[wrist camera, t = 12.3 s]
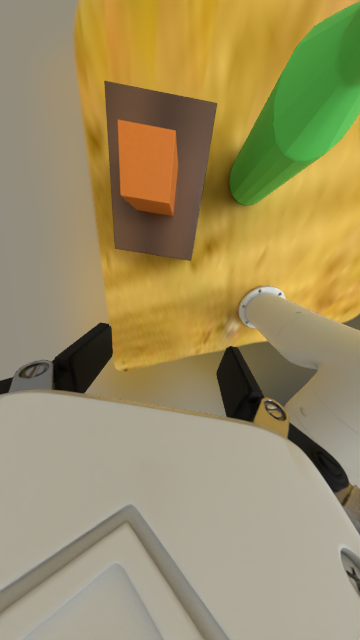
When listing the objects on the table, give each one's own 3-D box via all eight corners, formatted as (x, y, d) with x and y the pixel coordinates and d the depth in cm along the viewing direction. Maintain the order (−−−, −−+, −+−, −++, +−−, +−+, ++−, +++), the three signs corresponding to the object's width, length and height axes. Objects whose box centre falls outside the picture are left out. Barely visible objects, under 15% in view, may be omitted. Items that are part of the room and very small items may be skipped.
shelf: (203, 169, 27) (217, 102, 15) (189, 258, 34) (191, 260, 22) (140, 157, 26) (104, 80, 15) (139, 250, 33) (114, 248, 22)
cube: (178, 165, 17) (175, 130, 12) (173, 216, 20) (169, 203, 15) (136, 157, 17) (117, 118, 12) (136, 210, 20) (120, 195, 15)
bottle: (248, 134, 25) (948, -1177, 2) (283, 167, 26) (871, -359, 4) (219, 190, 28) (358, -71, 6) (251, 215, 30) (456, 94, 7)
